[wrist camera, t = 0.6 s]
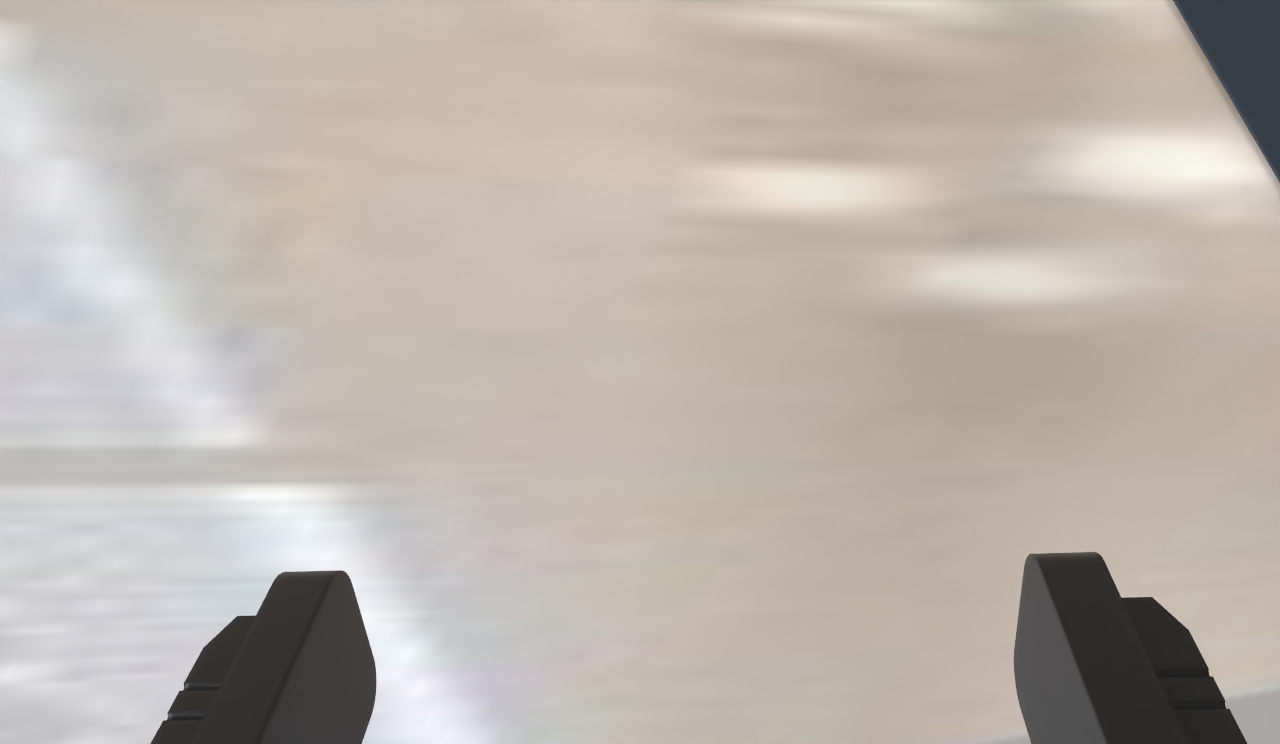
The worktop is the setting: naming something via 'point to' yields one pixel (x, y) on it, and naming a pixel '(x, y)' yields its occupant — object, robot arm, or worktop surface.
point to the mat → (1244, 60)
